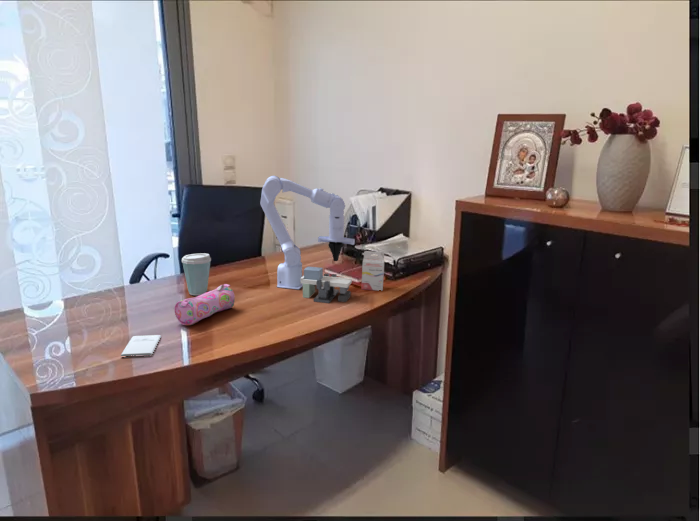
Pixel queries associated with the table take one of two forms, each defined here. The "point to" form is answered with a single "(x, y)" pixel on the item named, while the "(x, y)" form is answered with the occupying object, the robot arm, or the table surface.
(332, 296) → the stand
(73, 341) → the table surface
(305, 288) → the level rest
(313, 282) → the plank
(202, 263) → the disposable coffee cup
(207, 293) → the pencil case
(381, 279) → the ink cartridge box
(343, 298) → the tip stop
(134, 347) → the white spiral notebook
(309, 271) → the block
